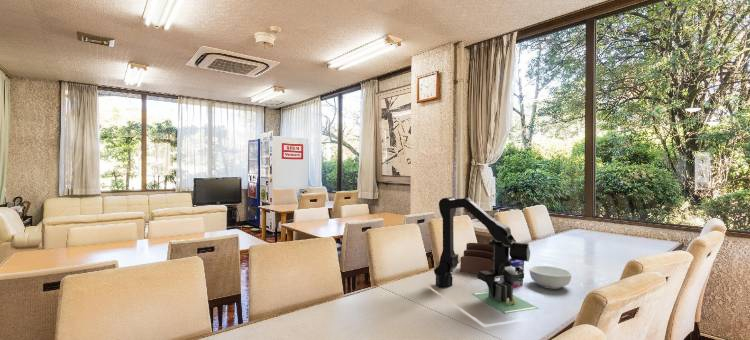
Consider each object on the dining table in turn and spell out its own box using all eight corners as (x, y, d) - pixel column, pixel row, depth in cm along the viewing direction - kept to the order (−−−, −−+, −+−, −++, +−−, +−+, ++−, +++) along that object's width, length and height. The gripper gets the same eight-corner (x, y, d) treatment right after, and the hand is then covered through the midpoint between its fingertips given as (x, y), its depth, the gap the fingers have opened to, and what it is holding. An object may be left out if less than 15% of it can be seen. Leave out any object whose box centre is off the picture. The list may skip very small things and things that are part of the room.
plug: (499, 302, 135) (499, 287, 135) (488, 296, 142) (488, 281, 142) (512, 300, 138) (512, 285, 138) (501, 294, 144) (501, 280, 144)
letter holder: (466, 267, 186) (466, 240, 186) (505, 274, 175) (505, 246, 175) (459, 271, 178) (460, 244, 177) (500, 279, 167) (500, 250, 167)
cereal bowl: (561, 281, 166) (561, 266, 166) (578, 293, 149) (578, 277, 149) (524, 279, 168) (524, 264, 168) (536, 291, 151) (537, 275, 151)
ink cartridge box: (508, 290, 151) (509, 257, 151) (498, 286, 156) (499, 254, 156) (524, 287, 156) (524, 255, 156) (513, 283, 161) (514, 252, 161)
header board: (504, 315, 126) (504, 306, 126) (471, 295, 144) (471, 287, 144) (539, 310, 131) (539, 301, 131) (502, 291, 150) (503, 284, 150)
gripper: (495, 264, 129) (494, 306, 129) (535, 260, 135) (534, 300, 135) (476, 257, 139) (476, 295, 139) (514, 253, 145) (513, 290, 146)
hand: (500, 296), depth 140 cm, fingers closed on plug, 6 cm apart
